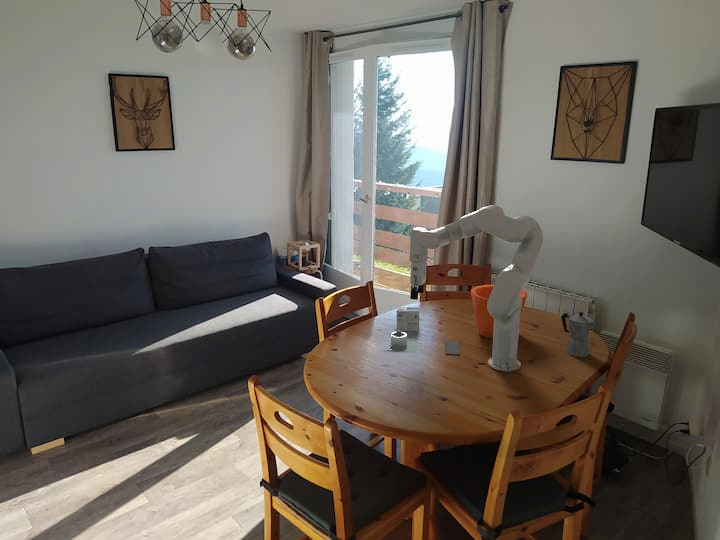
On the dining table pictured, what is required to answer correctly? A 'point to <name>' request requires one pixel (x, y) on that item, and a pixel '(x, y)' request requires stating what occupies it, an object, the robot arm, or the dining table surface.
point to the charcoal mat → (452, 347)
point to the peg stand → (409, 347)
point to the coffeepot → (578, 334)
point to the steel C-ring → (399, 340)
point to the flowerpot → (480, 306)
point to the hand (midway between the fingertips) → (416, 295)
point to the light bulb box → (408, 318)
